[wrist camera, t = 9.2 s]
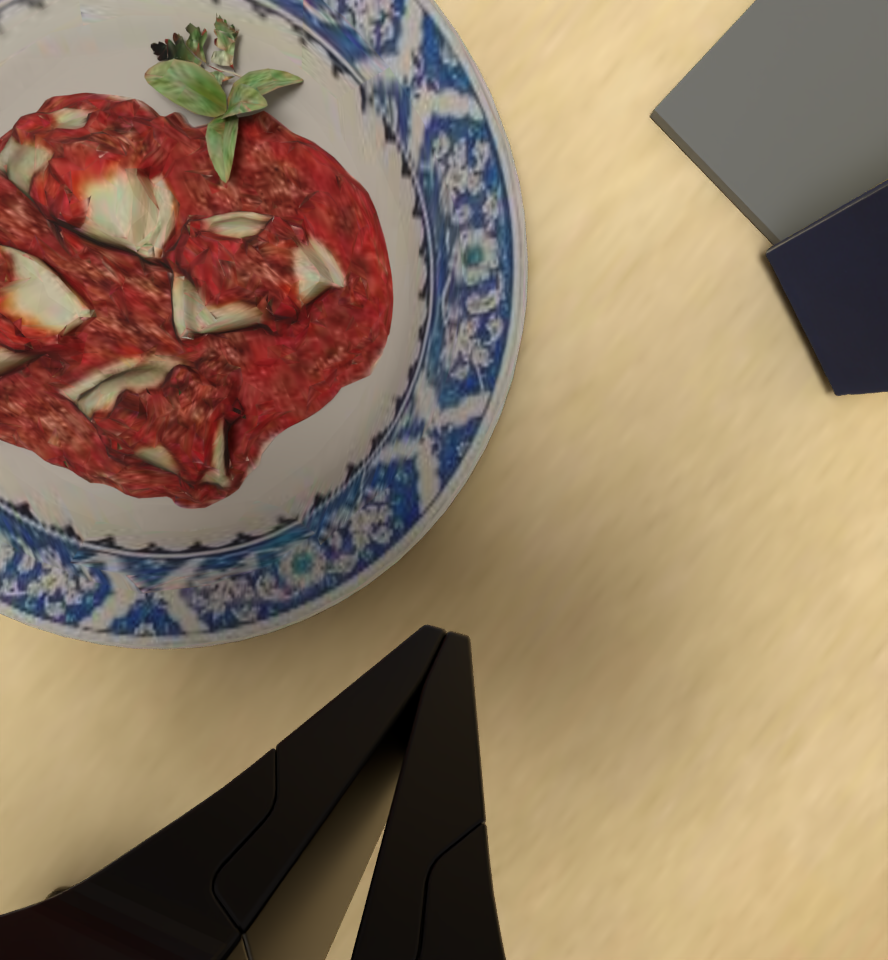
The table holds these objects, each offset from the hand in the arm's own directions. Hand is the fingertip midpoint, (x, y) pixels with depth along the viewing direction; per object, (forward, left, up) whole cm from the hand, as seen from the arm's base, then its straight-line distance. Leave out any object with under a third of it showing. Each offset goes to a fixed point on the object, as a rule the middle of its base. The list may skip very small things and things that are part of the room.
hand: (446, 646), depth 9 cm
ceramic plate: (+9, +10, -11) cm, 18 cm away
